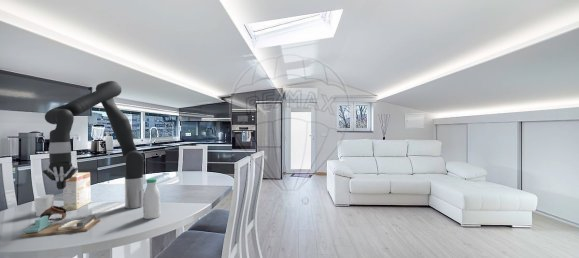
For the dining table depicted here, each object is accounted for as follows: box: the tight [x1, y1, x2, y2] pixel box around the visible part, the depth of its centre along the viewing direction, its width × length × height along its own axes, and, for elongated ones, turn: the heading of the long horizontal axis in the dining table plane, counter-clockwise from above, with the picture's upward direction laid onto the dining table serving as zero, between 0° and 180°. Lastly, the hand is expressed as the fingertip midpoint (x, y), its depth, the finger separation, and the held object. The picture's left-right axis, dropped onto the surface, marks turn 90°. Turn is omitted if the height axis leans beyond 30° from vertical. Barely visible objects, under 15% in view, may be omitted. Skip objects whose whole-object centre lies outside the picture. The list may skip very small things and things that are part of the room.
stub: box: [23, 216, 52, 234], centre depth 114 cm, size 5×9×5 cm, turn 16°
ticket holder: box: [20, 213, 101, 239], centre depth 117 cm, size 24×13×4 cm, turn 106°
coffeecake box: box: [62, 171, 92, 211], centre depth 153 cm, size 15×7×20 cm, turn 12°
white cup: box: [33, 193, 55, 217], centre depth 138 cm, size 8×8×10 cm
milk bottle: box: [142, 177, 161, 220], centre depth 132 cm, size 8×8×20 cm
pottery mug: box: [39, 205, 68, 221], centre depth 128 cm, size 12×10×8 cm
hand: (61, 189), depth 117 cm, fingers closed
